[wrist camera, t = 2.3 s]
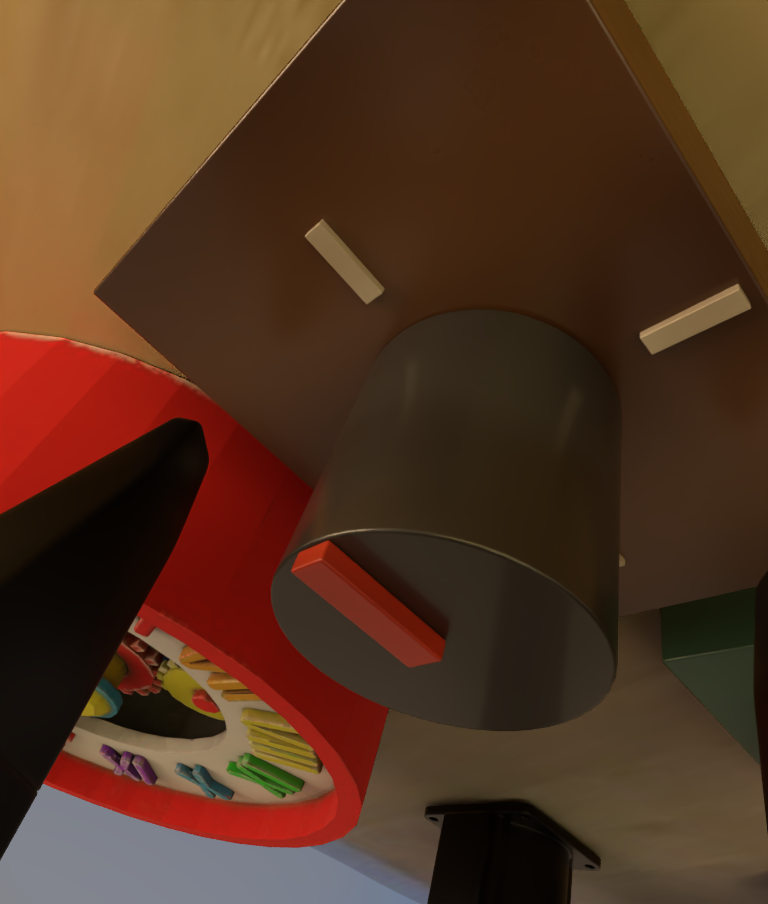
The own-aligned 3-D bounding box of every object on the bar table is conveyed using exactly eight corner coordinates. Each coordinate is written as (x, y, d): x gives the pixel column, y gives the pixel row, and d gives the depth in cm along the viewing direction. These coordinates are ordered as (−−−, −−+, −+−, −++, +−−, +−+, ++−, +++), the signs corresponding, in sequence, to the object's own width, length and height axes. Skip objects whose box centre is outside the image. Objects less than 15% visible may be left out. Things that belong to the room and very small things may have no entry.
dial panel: (873, 434, 13) (921, 560, 11) (503, 553, 19) (486, 652, 16) (523, -176, 8) (486, -173, 6) (171, 221, 14) (85, 297, 12)
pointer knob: (672, 456, 11) (690, 737, 8) (466, 531, 14) (412, 763, 10) (519, 254, 9) (455, 500, 6) (317, 385, 12) (196, 606, 9)
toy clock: (512, 801, 15) (224, 867, 29) (537, 595, 19) (274, 739, 33) (-397, 311, 11) (-232, 658, 25) (-126, 180, 15) (-112, 541, 29)
